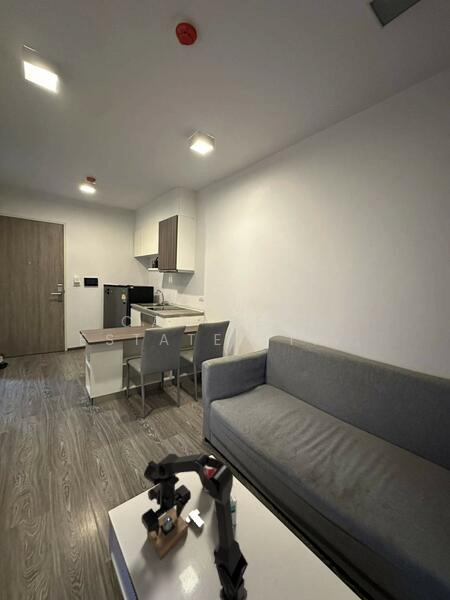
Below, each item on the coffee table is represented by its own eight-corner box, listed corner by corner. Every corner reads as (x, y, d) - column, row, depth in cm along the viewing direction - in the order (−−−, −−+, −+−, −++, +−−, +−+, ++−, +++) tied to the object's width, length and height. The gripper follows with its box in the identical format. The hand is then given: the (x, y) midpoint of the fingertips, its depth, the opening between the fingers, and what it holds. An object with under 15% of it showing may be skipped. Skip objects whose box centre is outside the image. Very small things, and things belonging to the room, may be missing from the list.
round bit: (173, 535, 91) (173, 519, 91) (166, 542, 89) (166, 526, 88) (169, 529, 94) (168, 513, 93) (161, 536, 91) (161, 519, 91)
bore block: (187, 534, 92) (187, 524, 92) (160, 559, 83) (160, 550, 83) (173, 515, 99) (173, 507, 99) (147, 537, 90) (147, 528, 90)
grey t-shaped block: (207, 524, 96) (207, 519, 96) (195, 535, 92) (195, 530, 92) (196, 512, 101) (196, 507, 101) (185, 522, 97) (185, 517, 96)
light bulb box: (236, 524, 96) (237, 500, 95) (221, 530, 94) (221, 506, 93) (227, 501, 106) (227, 479, 105) (213, 506, 103) (213, 484, 102)
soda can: (214, 495, 109) (215, 471, 108) (200, 492, 110) (200, 468, 109) (218, 482, 116) (218, 459, 114) (204, 479, 117) (204, 457, 116)
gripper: (176, 463, 102) (176, 496, 103) (134, 491, 88) (135, 528, 90) (191, 479, 94) (191, 514, 95) (148, 512, 80) (149, 552, 82)
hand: (167, 525), depth 91 cm, fingers open, 9 cm apart
